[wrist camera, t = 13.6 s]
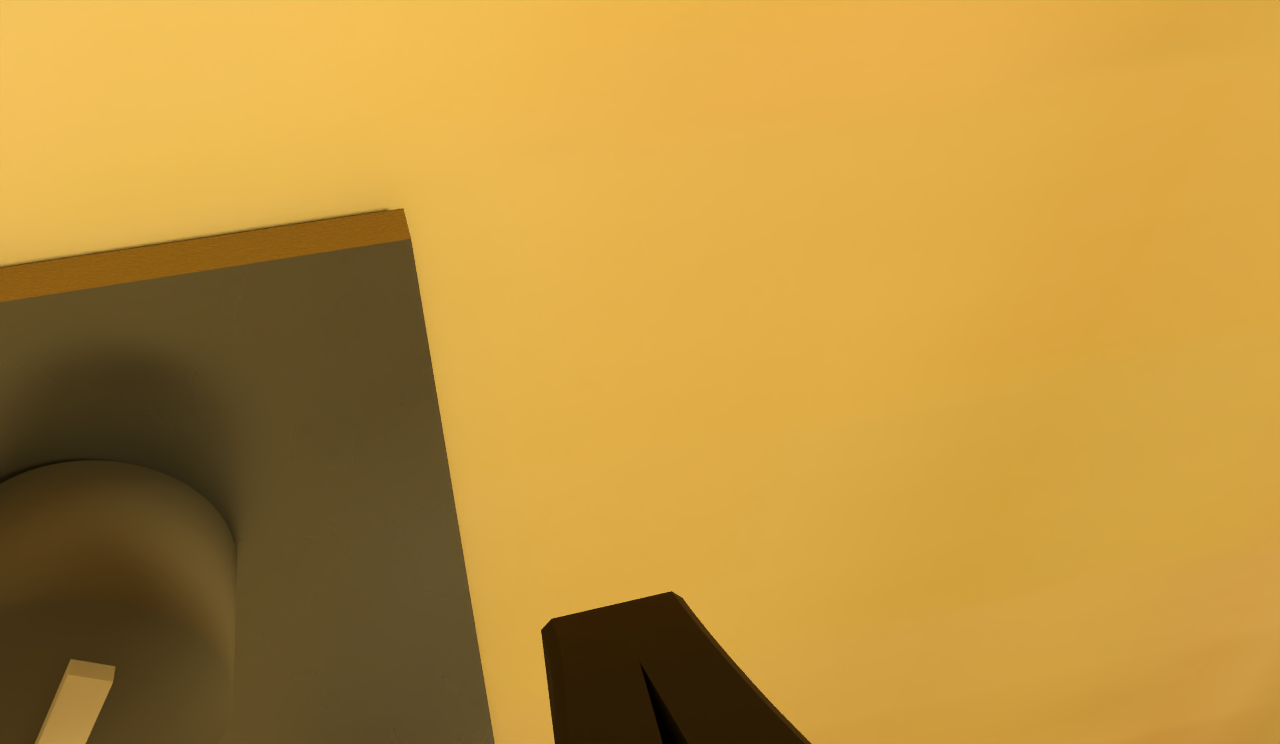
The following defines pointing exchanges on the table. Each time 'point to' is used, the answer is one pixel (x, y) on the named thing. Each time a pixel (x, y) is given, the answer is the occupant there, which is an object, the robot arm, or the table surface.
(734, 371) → the table surface
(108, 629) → the knob
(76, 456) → the levelling plate
